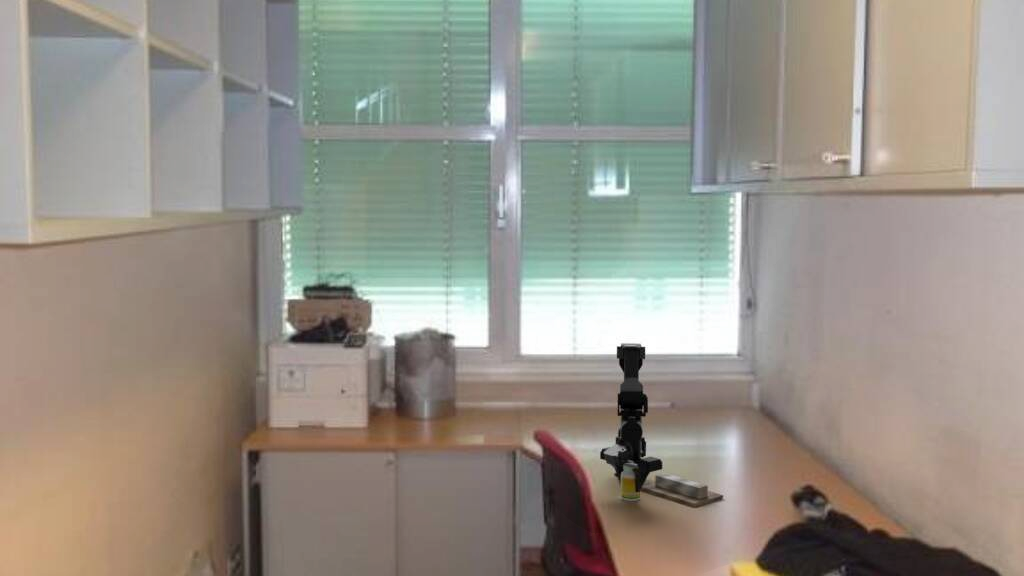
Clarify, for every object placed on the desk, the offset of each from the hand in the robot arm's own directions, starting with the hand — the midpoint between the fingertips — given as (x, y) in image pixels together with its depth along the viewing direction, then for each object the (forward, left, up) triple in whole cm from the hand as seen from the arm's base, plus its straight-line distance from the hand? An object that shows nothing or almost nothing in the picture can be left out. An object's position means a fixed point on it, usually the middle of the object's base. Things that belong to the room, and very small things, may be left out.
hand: (630, 489), depth 275 cm
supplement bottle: (0, 0, -3) cm, 3 cm away
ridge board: (+6, +14, -2) cm, 15 cm away
